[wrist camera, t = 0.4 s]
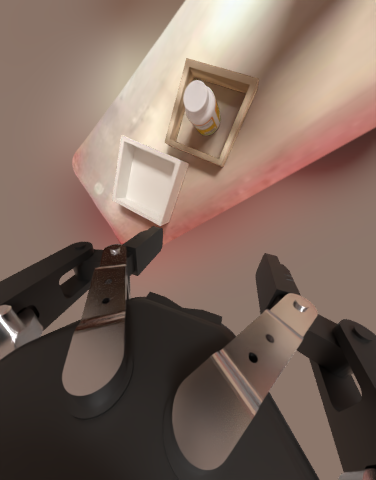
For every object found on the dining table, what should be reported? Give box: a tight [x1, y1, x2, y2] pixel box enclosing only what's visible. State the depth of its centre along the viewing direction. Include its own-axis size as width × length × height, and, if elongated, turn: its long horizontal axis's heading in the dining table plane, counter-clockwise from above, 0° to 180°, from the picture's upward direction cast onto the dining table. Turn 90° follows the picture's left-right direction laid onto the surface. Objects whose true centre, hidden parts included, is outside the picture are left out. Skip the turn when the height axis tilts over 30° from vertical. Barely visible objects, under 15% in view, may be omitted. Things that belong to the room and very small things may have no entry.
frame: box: [165, 58, 259, 167], centre depth 30 cm, size 14×14×3 cm
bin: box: [112, 135, 189, 226], centre depth 38 cm, size 16×16×5 cm
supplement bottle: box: [183, 80, 221, 136], centre depth 27 cm, size 5×5×10 cm
